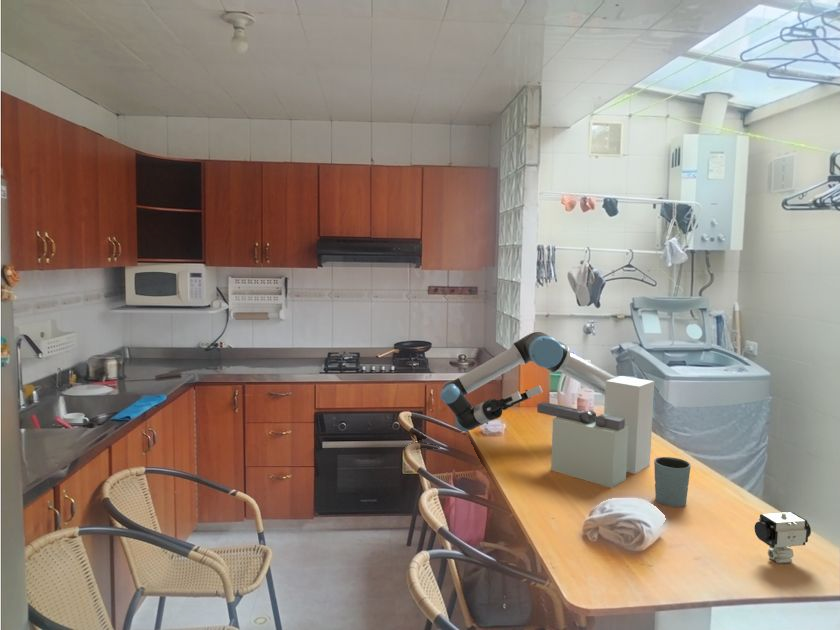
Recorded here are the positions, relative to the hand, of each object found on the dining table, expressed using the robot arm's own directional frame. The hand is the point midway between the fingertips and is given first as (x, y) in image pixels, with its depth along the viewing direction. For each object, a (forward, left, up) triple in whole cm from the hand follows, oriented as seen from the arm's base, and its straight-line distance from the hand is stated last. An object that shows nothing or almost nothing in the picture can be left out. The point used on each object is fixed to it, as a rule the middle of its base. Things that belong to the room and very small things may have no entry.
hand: (530, 391), depth 212 cm
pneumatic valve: (-19, +84, -25) cm, 90 cm away
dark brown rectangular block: (-6, +13, -6) cm, 15 cm away
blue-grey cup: (-20, +47, -25) cm, 57 cm away
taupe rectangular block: (-28, +18, -24) cm, 41 cm away
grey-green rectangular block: (-10, +21, -24) cm, 34 cm away
